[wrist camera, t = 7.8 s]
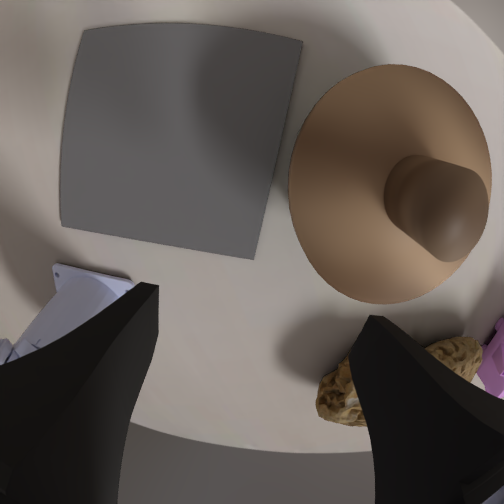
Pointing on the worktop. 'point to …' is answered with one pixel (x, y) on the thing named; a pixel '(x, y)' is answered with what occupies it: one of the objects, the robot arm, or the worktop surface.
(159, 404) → the worktop surface
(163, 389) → the worktop surface
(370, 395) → the robot arm
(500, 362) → the teapot
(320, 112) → the lid
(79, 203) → the mat
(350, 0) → the worktop surface
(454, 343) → the sponge
